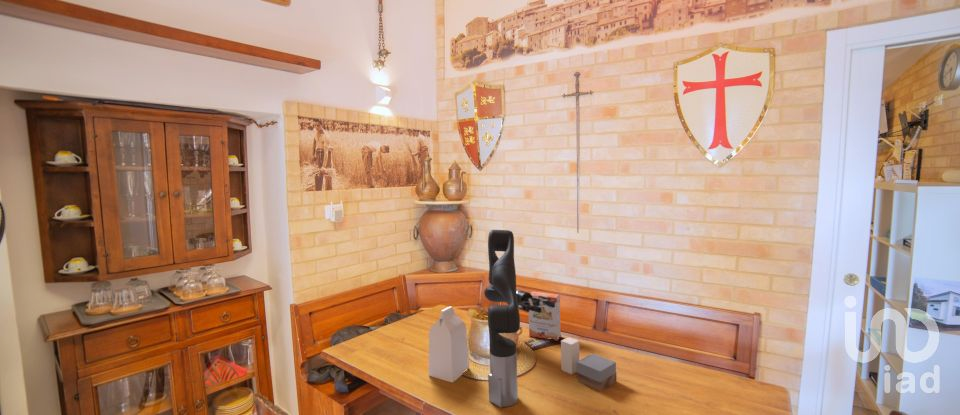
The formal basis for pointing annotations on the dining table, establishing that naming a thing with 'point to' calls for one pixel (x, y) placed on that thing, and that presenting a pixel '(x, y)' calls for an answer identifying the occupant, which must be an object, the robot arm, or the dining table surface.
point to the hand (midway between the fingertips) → (547, 307)
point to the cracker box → (545, 318)
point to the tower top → (596, 367)
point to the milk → (448, 347)
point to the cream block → (569, 355)
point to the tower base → (595, 384)
